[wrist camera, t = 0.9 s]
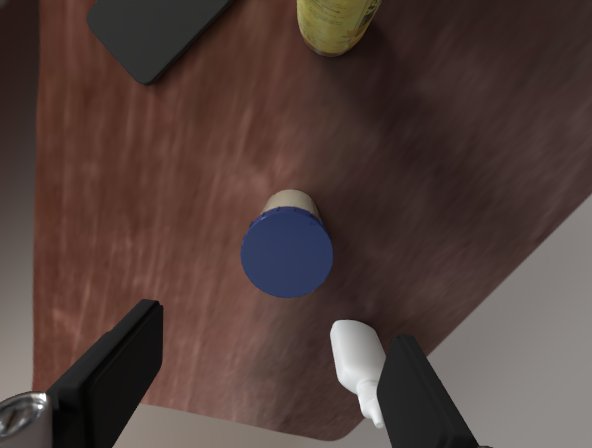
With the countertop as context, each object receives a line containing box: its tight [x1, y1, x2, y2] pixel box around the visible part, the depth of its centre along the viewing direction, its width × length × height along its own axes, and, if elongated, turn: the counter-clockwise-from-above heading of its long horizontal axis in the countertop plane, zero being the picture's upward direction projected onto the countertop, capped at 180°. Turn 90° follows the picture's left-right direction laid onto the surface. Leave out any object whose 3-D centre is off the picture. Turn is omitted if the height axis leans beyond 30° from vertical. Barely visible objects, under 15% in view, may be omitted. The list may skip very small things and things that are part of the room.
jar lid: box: [241, 206, 334, 298], centre depth 21 cm, size 7×7×2 cm
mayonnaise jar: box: [260, 190, 321, 220], centre depth 25 cm, size 6×6×11 cm
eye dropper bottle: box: [330, 320, 386, 428], centre depth 29 cm, size 4×6×12 cm
